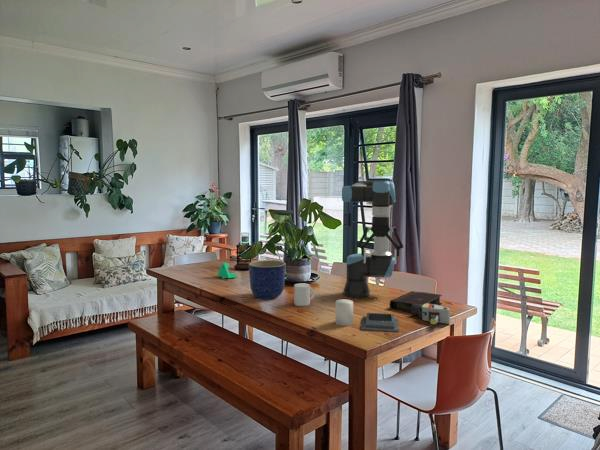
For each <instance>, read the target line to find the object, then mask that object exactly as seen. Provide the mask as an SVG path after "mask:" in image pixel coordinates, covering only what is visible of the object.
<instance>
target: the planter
mask: <svg viewBox="0 0 600 450" xmlns="http://www.w3.org/2000/svg"><path fill="white" fill-rule="evenodd" d="M248 263H249V262H248ZM286 265H287V263H286V262H285V261H281V260H270V259H269V260H268V259H265V260H264V259H263V260H254V261H251V263H249V271H248V275H249V276H248V277H249V285H250V290H251V293H252V294H253V295H254V297H256V298H258V299H262V300H271V299H276V298H278V297H280V296H281V295H282V293H283V291H284V289H285V279H286Z"/></svg>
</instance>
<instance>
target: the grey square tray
mask: <svg viewBox="0 0 600 450" xmlns="http://www.w3.org/2000/svg"><path fill="white" fill-rule="evenodd" d="M360 326H361V327H360V328H361V330H362V331H376V332H377V331H378V332H394V333H395V332H396V333H399V332H400V328H399V327H400V326H399V321H398V318H397V317H394V313H381V312H380V313H379V312H377V313H375V312H366V316H362V319H361V325H360Z"/></svg>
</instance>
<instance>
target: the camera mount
mask: <svg viewBox="0 0 600 450" xmlns="http://www.w3.org/2000/svg"><path fill="white" fill-rule="evenodd" d="M229 269H230V265H229V262H224V263H221V265H220V267H219V270H218V272H217V276H218V277H223V278H222V279H224V278H228V279H232V278H233V279H234V278H237V277H238V274H237V273H234V272H229Z"/></svg>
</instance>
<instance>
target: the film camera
mask: <svg viewBox="0 0 600 450" xmlns="http://www.w3.org/2000/svg"><path fill="white" fill-rule="evenodd" d="M410 314H411V315H412V316H419V318H420V319H422V321H426V322H429V323H430V325H436V324H445V325H446V324H447V325H449V324H450V323H451V309H450V308H449V307H447V306H442V305H435V304H428V303H426V304H424V305H422V306H420V305H417V304H415V303H414V304H413V305H412V306H411V312H410Z"/></svg>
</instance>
